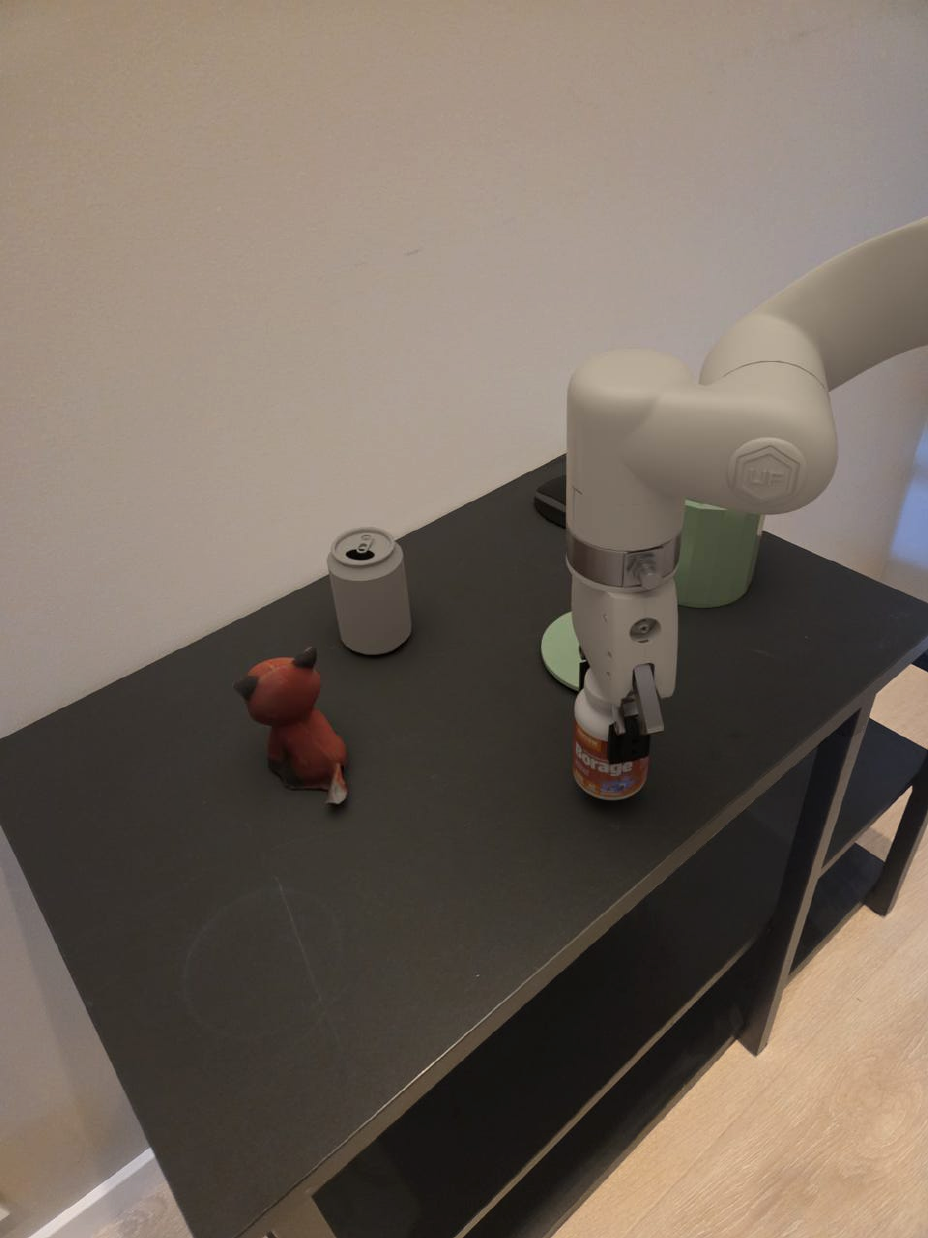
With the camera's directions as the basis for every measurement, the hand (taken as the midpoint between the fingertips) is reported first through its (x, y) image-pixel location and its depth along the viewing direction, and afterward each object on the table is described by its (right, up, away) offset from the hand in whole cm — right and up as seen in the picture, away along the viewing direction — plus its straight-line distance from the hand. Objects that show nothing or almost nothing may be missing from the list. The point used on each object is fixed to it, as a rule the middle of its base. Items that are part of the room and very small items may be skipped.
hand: (612, 724), depth 69 cm
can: (-21, +6, +22) cm, 31 cm away
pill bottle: (0, -5, +4) cm, 6 cm away
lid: (+2, +5, +18) cm, 19 cm away
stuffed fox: (-25, -6, +9) cm, 27 cm away
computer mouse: (+2, +21, +38) cm, 43 cm away
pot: (+14, +13, +28) cm, 34 cm away
